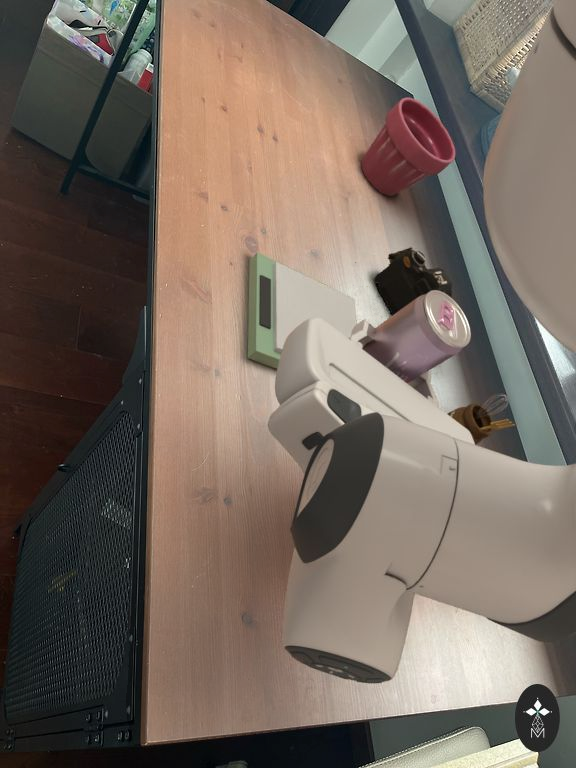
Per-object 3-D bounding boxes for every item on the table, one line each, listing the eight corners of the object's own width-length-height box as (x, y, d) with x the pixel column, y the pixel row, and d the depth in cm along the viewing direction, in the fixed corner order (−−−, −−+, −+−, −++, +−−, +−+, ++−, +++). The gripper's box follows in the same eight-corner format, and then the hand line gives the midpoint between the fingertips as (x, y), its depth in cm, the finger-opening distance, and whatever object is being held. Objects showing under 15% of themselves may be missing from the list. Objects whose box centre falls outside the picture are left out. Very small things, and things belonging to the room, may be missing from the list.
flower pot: (393, 219, 113) (446, 172, 105) (340, 161, 111) (390, 109, 102) (413, 190, 123) (463, 146, 115) (365, 137, 121) (412, 88, 112)
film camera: (449, 334, 107) (496, 305, 101) (427, 368, 98) (476, 339, 92) (384, 255, 106) (427, 220, 99) (355, 282, 97) (400, 245, 90)
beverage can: (362, 385, 66) (473, 314, 56) (354, 429, 62) (472, 361, 52) (319, 355, 64) (427, 275, 54) (308, 398, 60) (422, 321, 50)
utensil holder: (460, 431, 96) (525, 400, 88) (457, 464, 92) (525, 434, 84) (433, 411, 94) (497, 377, 86) (429, 443, 90) (496, 410, 82)
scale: (247, 358, 76) (259, 347, 74) (249, 260, 84) (260, 248, 82) (352, 397, 84) (365, 388, 83) (344, 304, 93) (356, 295, 91)
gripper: (490, 517, 51) (493, 394, 60) (298, 381, 44) (334, 265, 53) (432, 537, 55) (443, 419, 64) (249, 416, 48) (290, 303, 57)
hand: (392, 348), depth 58 cm, fingers closed on beverage can, 6 cm apart
